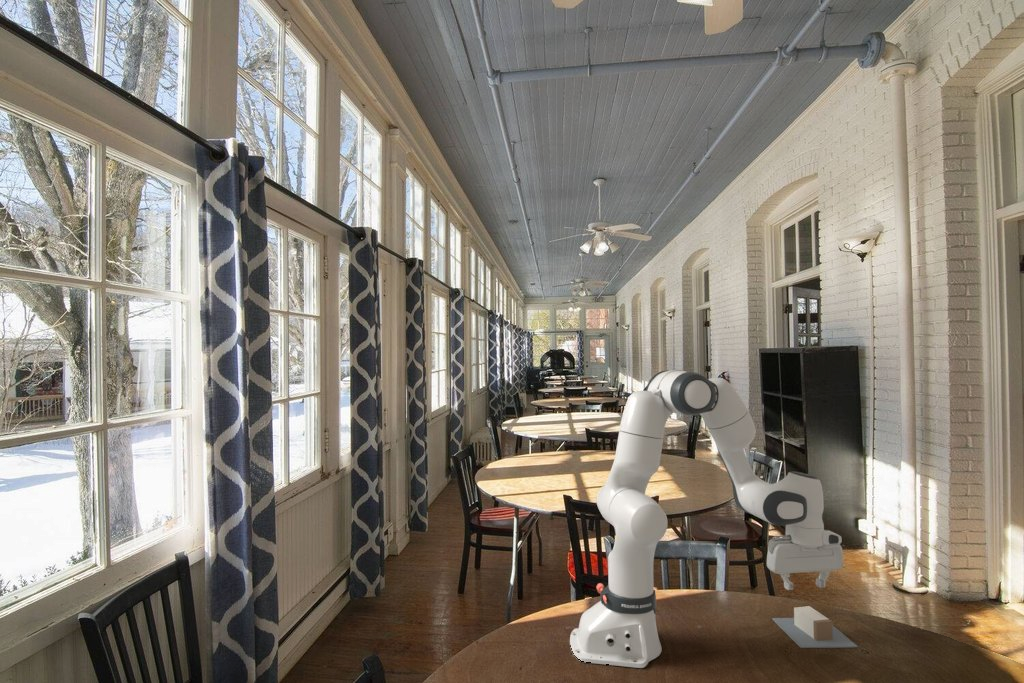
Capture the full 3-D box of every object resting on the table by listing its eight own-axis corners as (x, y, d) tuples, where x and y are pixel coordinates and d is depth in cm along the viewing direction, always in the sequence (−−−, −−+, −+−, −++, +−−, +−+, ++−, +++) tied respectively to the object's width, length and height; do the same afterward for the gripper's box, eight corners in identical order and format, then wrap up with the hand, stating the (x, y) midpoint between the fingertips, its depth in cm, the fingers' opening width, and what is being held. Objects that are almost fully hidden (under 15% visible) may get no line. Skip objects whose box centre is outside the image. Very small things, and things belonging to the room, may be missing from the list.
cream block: (794, 624, 138) (816, 640, 130) (794, 607, 138) (816, 622, 130) (809, 623, 139) (832, 639, 131) (809, 606, 139) (832, 621, 131)
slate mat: (800, 648, 128) (800, 646, 128) (772, 619, 142) (772, 618, 142) (857, 647, 128) (857, 646, 128) (823, 618, 142) (823, 617, 142)
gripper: (777, 540, 132) (777, 595, 132) (847, 536, 136) (847, 590, 135) (761, 532, 138) (761, 585, 138) (828, 529, 142) (829, 580, 141)
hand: (804, 587), depth 137 cm, fingers open, 8 cm apart
